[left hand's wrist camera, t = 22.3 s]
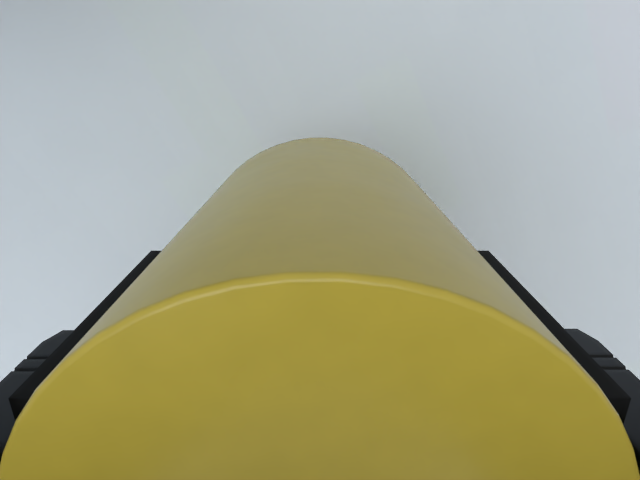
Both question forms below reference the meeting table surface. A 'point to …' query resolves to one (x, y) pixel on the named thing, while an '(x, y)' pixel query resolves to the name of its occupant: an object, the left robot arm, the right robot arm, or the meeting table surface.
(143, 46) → the meeting table surface
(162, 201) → the meeting table surface
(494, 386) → the canister
